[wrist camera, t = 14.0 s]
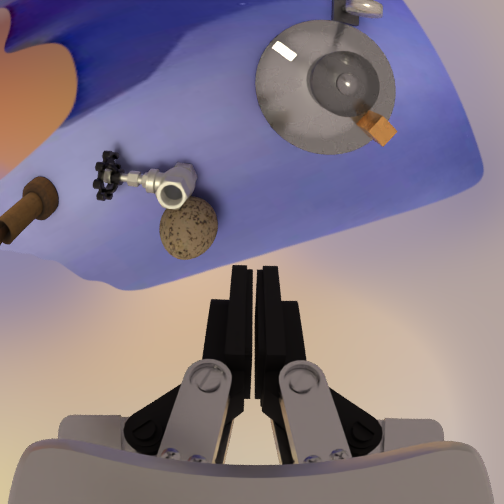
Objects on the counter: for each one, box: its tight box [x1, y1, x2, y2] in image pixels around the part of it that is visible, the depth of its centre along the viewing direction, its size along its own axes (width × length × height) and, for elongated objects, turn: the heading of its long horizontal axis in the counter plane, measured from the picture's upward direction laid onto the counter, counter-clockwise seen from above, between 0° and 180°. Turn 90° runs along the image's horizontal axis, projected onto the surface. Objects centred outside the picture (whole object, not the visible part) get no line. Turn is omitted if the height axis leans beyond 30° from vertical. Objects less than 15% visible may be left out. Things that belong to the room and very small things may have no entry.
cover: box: [306, 51, 380, 117], centre depth 25 cm, size 7×7×4 cm
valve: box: [93, 151, 198, 209], centre depth 33 cm, size 7×7×12 cm
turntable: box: [255, 20, 397, 155], centre depth 26 cm, size 16×16×6 cm
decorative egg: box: [160, 196, 218, 260], centre depth 35 cm, size 7×7×10 cm
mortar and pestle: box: [0, 177, 58, 245], centre depth 30 cm, size 7×6×18 cm
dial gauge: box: [332, 0, 383, 26], centre depth 20 cm, size 4×4×9 cm
